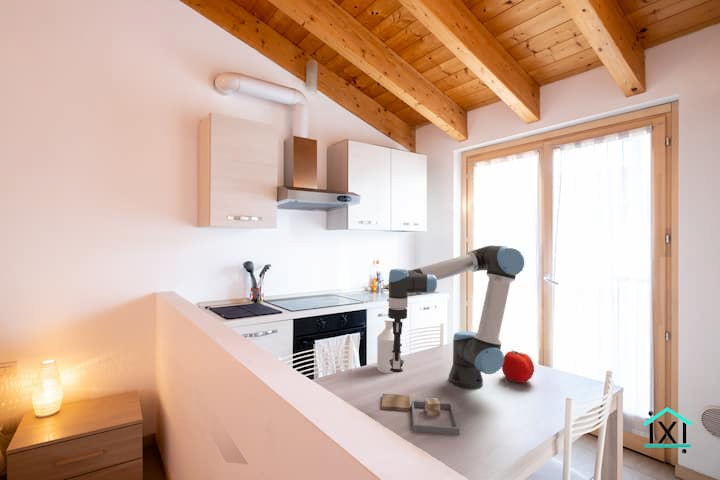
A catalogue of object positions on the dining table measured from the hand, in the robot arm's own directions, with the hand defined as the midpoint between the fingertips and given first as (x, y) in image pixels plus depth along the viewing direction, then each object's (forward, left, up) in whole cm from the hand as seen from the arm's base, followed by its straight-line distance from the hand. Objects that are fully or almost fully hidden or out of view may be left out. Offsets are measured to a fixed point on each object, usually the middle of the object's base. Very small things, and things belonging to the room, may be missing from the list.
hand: (396, 365), depth 142 cm
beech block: (-14, +5, -16) cm, 22 cm away
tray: (-14, +10, -15) cm, 23 cm away
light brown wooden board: (0, 0, -15) cm, 15 cm away
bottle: (+4, -37, -16) cm, 40 cm away
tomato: (-57, -31, -16) cm, 67 cm away
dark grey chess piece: (0, 0, -2) cm, 2 cm away
